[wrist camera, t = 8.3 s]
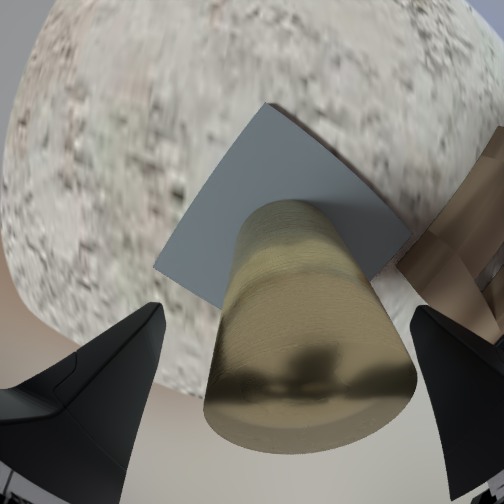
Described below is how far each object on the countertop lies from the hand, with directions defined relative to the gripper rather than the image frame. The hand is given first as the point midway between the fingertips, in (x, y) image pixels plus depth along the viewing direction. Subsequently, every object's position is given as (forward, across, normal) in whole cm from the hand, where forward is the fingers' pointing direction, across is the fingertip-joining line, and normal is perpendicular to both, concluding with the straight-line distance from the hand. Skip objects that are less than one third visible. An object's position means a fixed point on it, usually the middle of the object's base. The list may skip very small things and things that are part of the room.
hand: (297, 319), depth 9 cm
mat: (+6, 0, 0) cm, 6 cm away
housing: (+6, -15, 0) cm, 16 cm away
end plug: (+5, 0, 0) cm, 5 cm away
